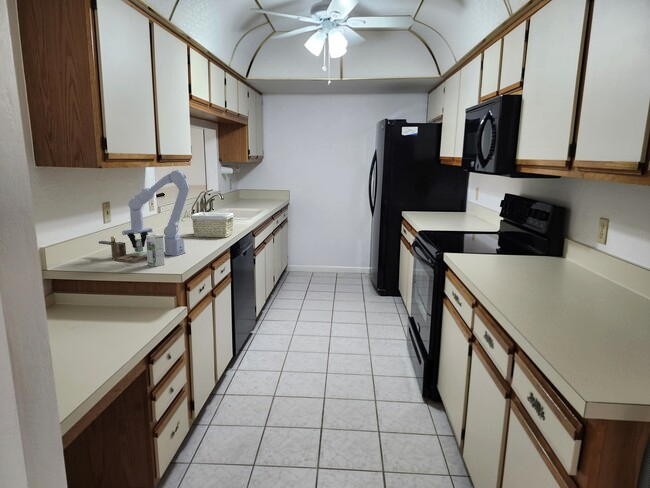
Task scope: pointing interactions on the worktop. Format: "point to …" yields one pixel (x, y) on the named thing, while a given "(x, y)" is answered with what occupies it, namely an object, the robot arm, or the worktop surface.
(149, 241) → the syrup box
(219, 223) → the storage basket
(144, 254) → the sage rubber pad
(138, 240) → the steel peg
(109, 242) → the dark grey long bar
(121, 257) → the walnut socket block
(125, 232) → the robot arm
